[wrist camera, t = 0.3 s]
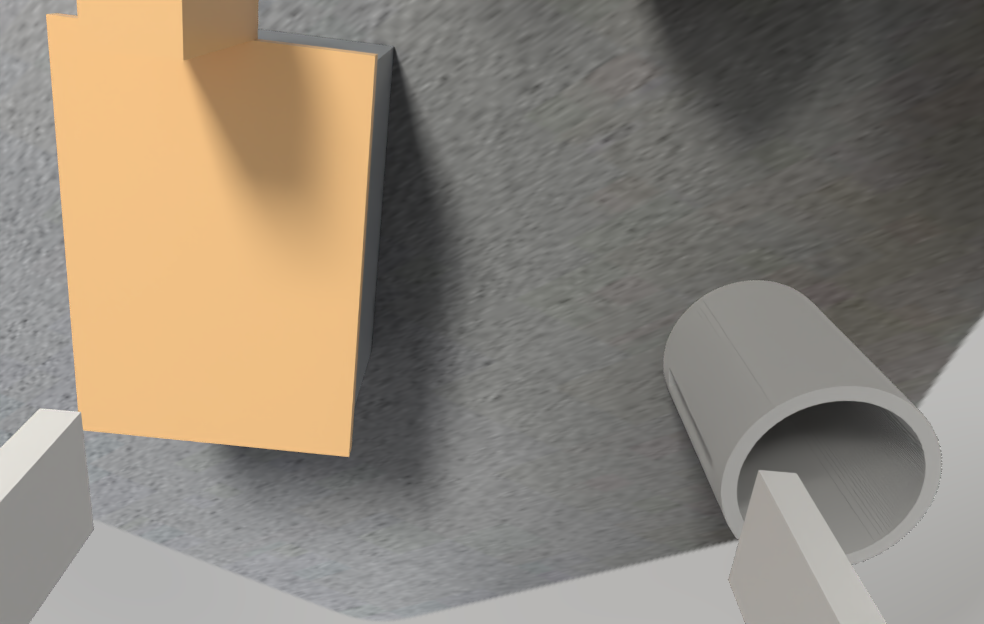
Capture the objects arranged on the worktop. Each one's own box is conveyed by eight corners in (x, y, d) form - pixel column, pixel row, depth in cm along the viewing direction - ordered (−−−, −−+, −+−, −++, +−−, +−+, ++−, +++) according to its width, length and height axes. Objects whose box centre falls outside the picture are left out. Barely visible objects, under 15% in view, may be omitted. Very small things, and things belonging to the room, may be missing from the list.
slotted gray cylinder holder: (854, 379, 46) (973, 510, 35) (708, 455, 48) (776, 601, 36) (787, 249, 43) (892, 346, 32) (633, 334, 45) (683, 454, 33)
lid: (46, -127, 28) (-112, -162, 20) (386, -81, 28) (352, -98, 21) (87, 420, 36) (-15, 536, 29) (351, 446, 37) (317, 567, 29)
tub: (158, 16, 38) (66, 28, 30) (394, 46, 39) (369, 66, 30) (167, 328, 44) (94, 411, 36) (371, 350, 45) (345, 436, 36)
